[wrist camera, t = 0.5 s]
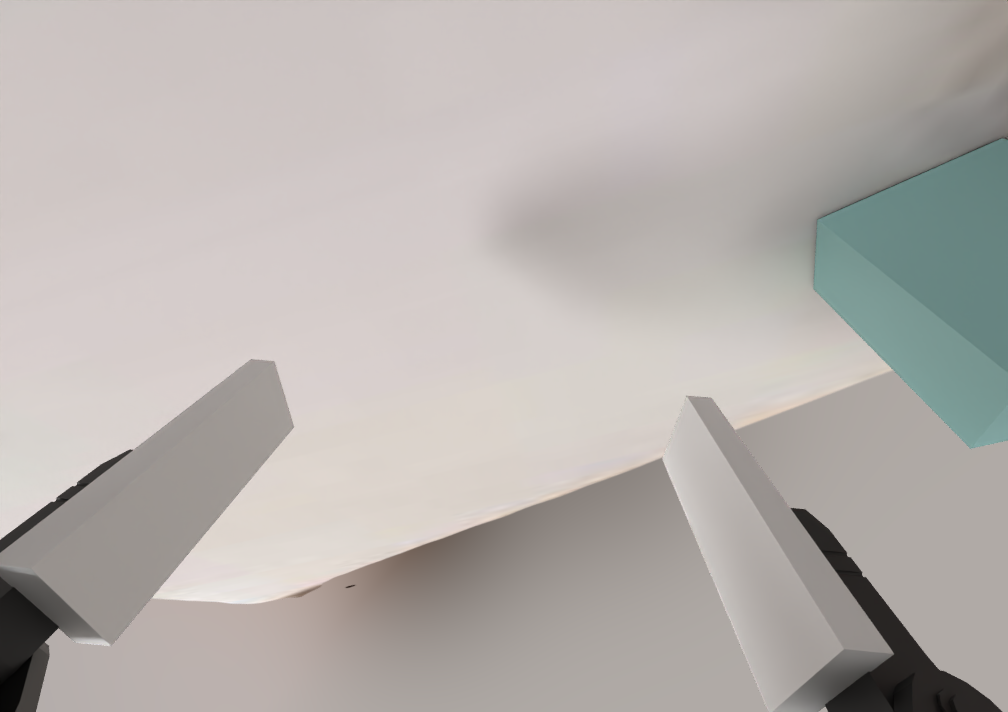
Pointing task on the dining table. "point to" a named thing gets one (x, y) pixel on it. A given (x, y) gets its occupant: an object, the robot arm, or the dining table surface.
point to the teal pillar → (931, 286)
